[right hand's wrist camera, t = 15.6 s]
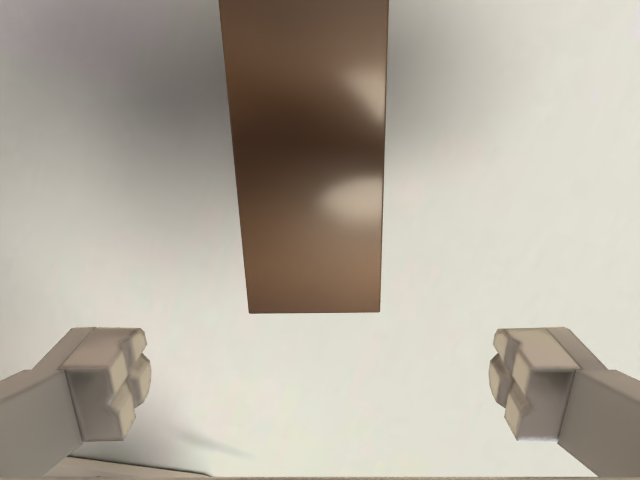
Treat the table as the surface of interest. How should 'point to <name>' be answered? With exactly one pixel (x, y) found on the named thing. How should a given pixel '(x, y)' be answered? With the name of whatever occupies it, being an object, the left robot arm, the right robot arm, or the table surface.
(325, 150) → the box
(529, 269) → the table surface
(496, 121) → the table surface
